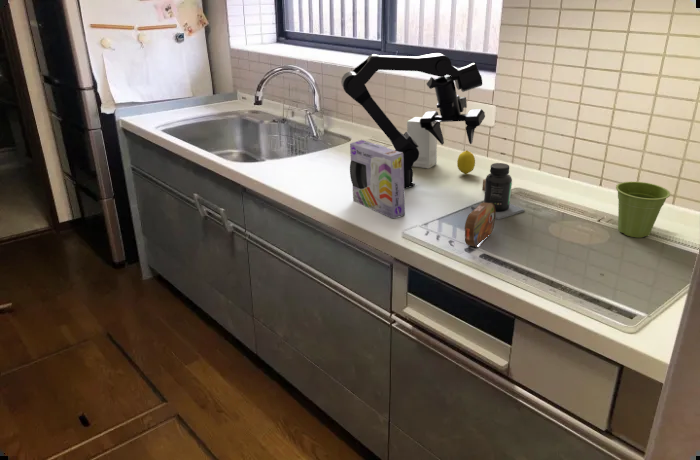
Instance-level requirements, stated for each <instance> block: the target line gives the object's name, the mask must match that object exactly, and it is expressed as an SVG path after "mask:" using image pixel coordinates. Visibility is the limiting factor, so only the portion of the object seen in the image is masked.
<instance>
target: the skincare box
mask: <svg viewBox="0 0 700 460" xmlns="http://www.w3.org/2000/svg"><path fill="white" fill-rule="evenodd" d="M421 118H422V116H414V117H412V118H411V119H409V120H407V121H406V127H407V128H406V130H407V131H406V132H407V133H408V134H409V135H410V137H411V138H412V140H414V141H415V142H416V144H417V145H418V147H416V148H417V149H418V151H419V157H418V159H417V160H416V161H415V162H414V163H413V166H412V167H413V168H414V167H415V168H423V169H427V170H428V169H431V168H432V167H434V166H436V164H437V161H438V160H437V157H438V156H437V155H438V154H437V152H438V151H437V150H438V149H437V148H438V147H437V146H438V140H437V139H436V138H435V137H434V136H433V135H432V134H431V133H430V132H429V131H428V130H425V128H421V126H420V119H421Z"/></svg>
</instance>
